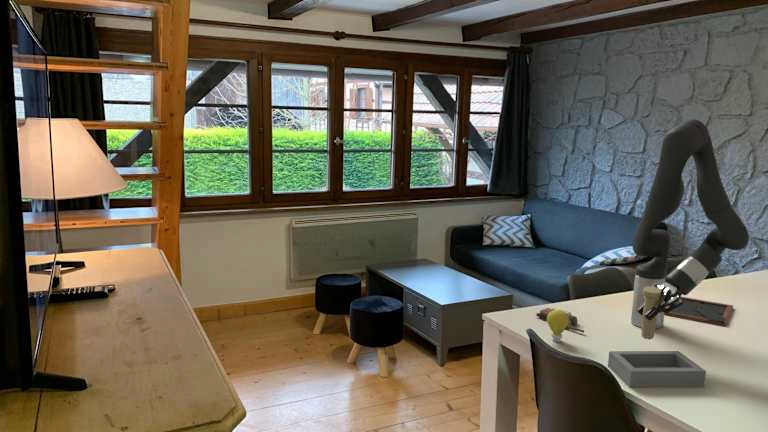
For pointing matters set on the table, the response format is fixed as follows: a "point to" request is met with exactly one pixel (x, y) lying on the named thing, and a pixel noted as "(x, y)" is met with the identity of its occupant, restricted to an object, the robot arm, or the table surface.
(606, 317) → the table surface
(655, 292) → the handle
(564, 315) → the light bulb
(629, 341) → the table surface
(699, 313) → the picture frame
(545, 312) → the walkie-talkie
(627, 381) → the gray rectangular tray
